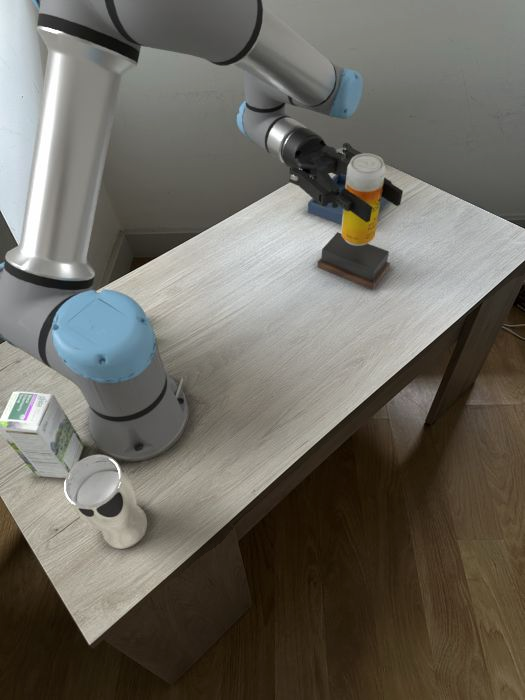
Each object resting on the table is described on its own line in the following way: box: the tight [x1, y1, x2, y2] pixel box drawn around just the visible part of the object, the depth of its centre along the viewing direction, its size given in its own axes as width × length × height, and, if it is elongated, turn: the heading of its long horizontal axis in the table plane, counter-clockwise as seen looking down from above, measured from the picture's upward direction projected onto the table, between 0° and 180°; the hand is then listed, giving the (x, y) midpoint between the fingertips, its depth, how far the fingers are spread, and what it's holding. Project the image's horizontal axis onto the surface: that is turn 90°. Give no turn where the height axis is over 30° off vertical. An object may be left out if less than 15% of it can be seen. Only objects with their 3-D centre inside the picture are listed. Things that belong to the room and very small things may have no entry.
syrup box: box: [0, 391, 85, 479], centre depth 72 cm, size 6×6×14 cm
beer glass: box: [63, 454, 148, 550], centre depth 65 cm, size 7×7×15 cm
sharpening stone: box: [317, 231, 391, 291], centre depth 99 cm, size 12×7×4 cm, turn 56°
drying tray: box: [307, 174, 390, 226], centre depth 112 cm, size 13×13×3 cm
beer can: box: [340, 152, 386, 246], centre depth 88 cm, size 6×6×15 cm
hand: (384, 206), depth 84 cm, fingers closed on beer can, 6 cm apart
